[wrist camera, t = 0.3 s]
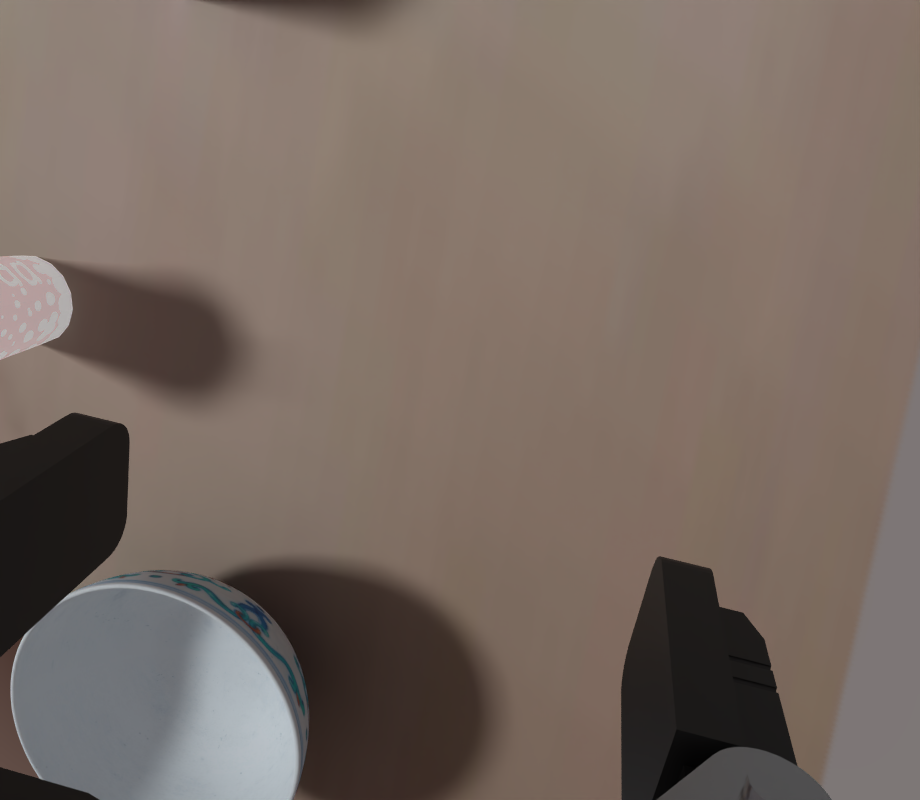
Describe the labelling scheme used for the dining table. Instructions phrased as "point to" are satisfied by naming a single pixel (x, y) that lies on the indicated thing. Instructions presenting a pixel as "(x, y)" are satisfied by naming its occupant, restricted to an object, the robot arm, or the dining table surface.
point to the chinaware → (162, 693)
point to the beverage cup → (31, 303)
